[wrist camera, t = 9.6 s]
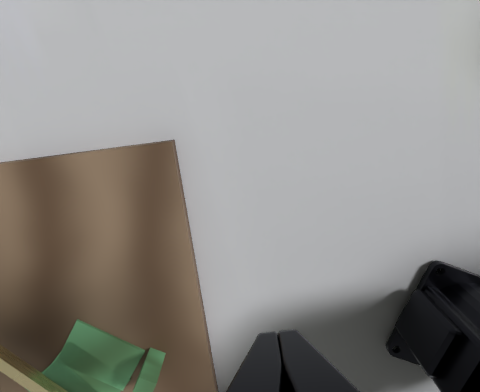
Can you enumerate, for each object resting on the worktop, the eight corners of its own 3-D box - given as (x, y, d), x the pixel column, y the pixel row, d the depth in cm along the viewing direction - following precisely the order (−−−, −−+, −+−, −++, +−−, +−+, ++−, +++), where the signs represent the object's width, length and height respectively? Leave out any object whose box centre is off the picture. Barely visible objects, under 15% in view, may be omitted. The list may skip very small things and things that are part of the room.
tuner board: (174, 139, 20) (161, 147, 17) (223, 419, 25) (220, 467, 22) (-127, 179, 21) (-194, 193, 18) (-24, 444, 26) (-62, 493, 22)
